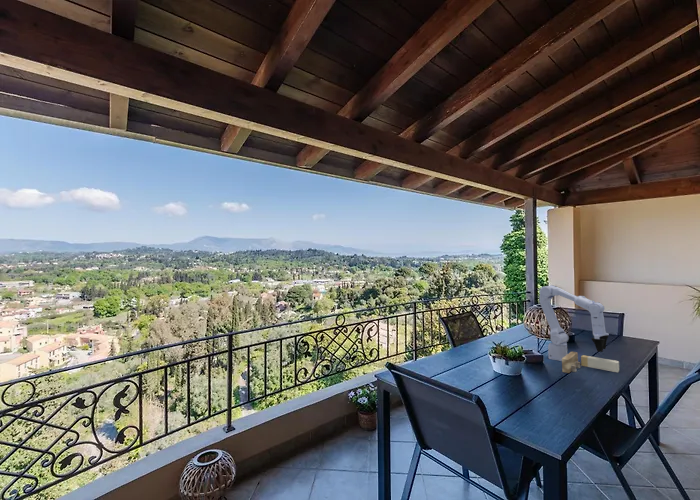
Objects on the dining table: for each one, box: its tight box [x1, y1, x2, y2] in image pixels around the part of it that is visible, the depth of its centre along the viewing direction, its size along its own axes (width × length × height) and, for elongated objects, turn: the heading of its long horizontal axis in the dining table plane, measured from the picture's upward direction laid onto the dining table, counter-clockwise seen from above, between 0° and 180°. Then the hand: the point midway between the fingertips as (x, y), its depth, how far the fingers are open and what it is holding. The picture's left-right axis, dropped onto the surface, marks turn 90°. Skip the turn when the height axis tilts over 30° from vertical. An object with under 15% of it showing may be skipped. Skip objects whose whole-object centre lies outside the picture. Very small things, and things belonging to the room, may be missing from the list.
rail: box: [580, 354, 620, 374], centre depth 177 cm, size 16×4×5 cm, turn 42°
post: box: [561, 351, 582, 374], centre depth 177 cm, size 5×18×7 cm, turn 132°
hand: (601, 350), depth 176 cm, fingers open, 7 cm apart
